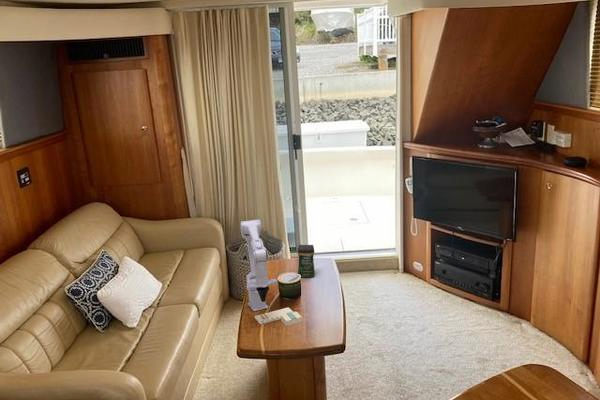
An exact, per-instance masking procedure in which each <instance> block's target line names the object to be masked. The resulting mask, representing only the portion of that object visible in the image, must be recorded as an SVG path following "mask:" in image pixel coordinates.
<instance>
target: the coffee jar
mask: <svg viewBox="0 0 600 400" xmlns="http://www.w3.org/2000/svg"><path fill="white" fill-rule="evenodd" d="M314 255H315V247H314V244H298V247H297V256H298V265H297V266H298V267H297V275H298V274H300V275H301V277H302V278H304V279H305V278H306V279H308V278H310V279H311V278H313V277H315V275H316V273H315V263H314ZM301 277H300V278H301Z"/></svg>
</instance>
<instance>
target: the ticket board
mask: <svg viewBox="0 0 600 400" xmlns="http://www.w3.org/2000/svg"><path fill="white" fill-rule="evenodd" d="M289 312H294V311H293V310H292V309H291V308H290V307H284V308H281V309H277V310H273V311H269V312H266V313H262V314H258V315H254V319H255V320H256V321H257V323H258V324H259V325H263V323H264V324H268V323H271V322H274V321H279V320H281V315H285V314H286V313H289Z"/></svg>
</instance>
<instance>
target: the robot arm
mask: <svg viewBox="0 0 600 400" xmlns="http://www.w3.org/2000/svg"><path fill="white" fill-rule="evenodd" d="M239 226H240V227H239V228H240V233H241V235H240V236H241V237H242V239H244V240H245V241H246V244H247V251H248V257H249V265H250V272H249V273H248V274H247V275H246V290H247V292H248V302H247V306H249V308H250V309H251V310H252V311H253V312H257V311H261V310H264V309H268V308H269V305H268V304H267V303H266V299H267V294H268V293H269V290H270V287H269V286H272V285H278V280H277V279H276V278H273V279H272V278H271V279H269V275H268V260H269V253H268V250H267V247H265V245H264V243H263V239H262V238H260V236H261V232H262V221H261V220H260V219H253V220H251V219H250V220H244V221H243V220H240V223H239Z"/></svg>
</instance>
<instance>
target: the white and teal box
mask: <svg viewBox="0 0 600 400" xmlns="http://www.w3.org/2000/svg"><path fill="white" fill-rule="evenodd" d="M280 321H281V322H282V323H283V325H285V326H286V327H289V326H293V325H296V324H300V323H303V317H302V315H300V314H299V312H297V311H293V312H289V313H286V314H285V315H281V319H280Z"/></svg>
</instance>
